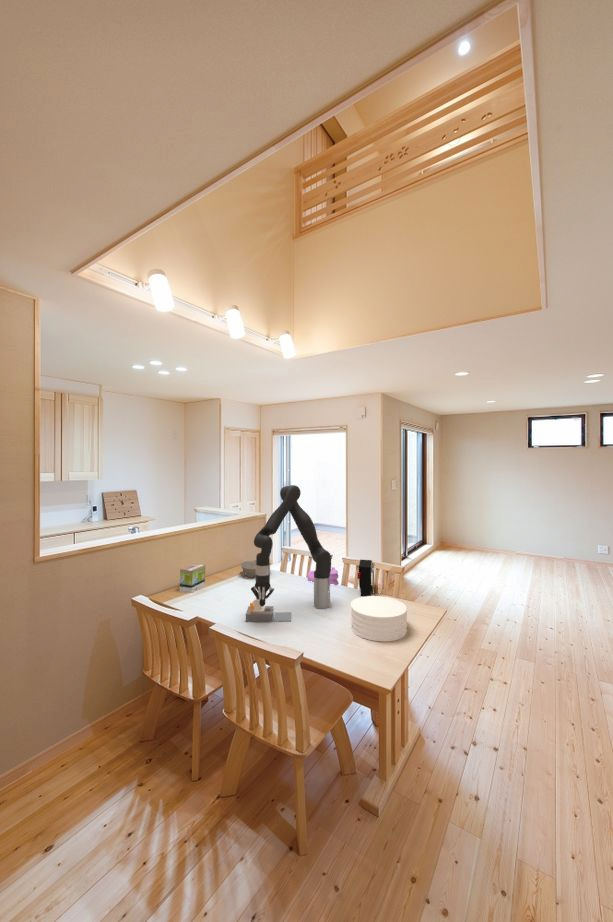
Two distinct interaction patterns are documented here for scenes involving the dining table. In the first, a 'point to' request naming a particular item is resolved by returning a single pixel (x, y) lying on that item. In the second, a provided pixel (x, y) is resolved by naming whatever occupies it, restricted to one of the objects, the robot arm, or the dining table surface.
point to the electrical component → (366, 577)
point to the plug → (258, 606)
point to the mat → (282, 617)
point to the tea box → (192, 578)
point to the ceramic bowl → (249, 568)
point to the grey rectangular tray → (260, 615)
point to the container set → (332, 576)
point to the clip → (251, 606)
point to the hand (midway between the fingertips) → (262, 605)
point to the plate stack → (378, 618)
